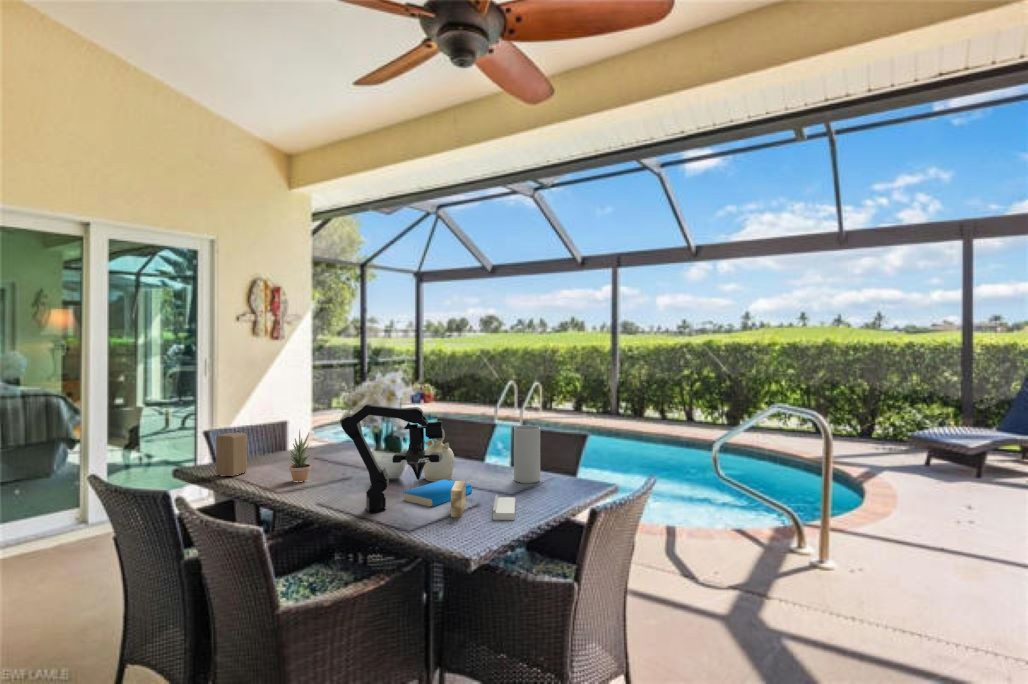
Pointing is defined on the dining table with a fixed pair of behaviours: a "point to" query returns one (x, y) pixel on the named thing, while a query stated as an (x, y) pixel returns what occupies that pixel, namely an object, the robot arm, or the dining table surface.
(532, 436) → the cylinder vase
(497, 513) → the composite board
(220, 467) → the wooden block
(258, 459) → the dining table surface
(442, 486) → the book
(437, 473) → the jug
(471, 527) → the dining table surface
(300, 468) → the potted plant
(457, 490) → the oak plank
